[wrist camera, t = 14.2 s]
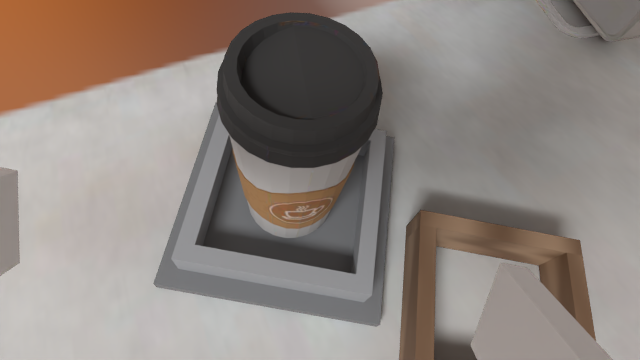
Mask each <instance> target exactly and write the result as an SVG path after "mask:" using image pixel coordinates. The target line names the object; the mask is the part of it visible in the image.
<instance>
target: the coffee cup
mask: <svg viewBox="0 0 640 360" xmlns="http://www.w3.org/2000/svg"><path fill="white" fill-rule="evenodd" d="M217 94H218V96H217V107H218V111H219V115H220V119H221V122H222V124H223V125H224V127H225V128H226V130H227V131H228V133H229V136H230V140H231V143H232V147H233V155H234V159H235V163H236V167H237V170H238V174H239V177H240V181H241V184H242V188H243V191H244V195H245V198H246V199H247V202H248V205H249V209H250V213H251V215H252V217H253V218H254V220H255V222H256V223H257V224H258V225H259V226H260V227H261V228H262V229H264V230H265V231H267V232H269V233H271V234H272V235H275V236H279V237H283V238H297V237H301V236H305V235H308V234H310V233H311V232H313V231H315V230H317V229H318V228H319V227H320V226H321V225H322V224H323V223H324V221H325V219H326V218H327V216H328V214H329V212H330V210H331V209H332V207H333V206H334V204H335V202H336V200H337V198H338V196H339V194H340V193H341V191H342V189H343V187H344V185H345V183H346V181H347V179H348V177H349V175H350V173H351V171H352V169H353V167H354V162H355V159H356V157H357V155H358V153H359V151H360V149H361V147H362V146H363V145H364V144H365V143H366V142H367V141H368V140H369V138H370V136H371V134H372V133H373V131H374V129H375V127H376V125H377V121H378V115H379V110H380V105H381V99H382V87H381V81H380V76H379V70H378V64H377V61H376V59H375V57H374V55H373V53H372V50H371V48H370V47H369V46H368V45H367V44H366V43H365V41H364V40H363V39H362V38H361V37H360V36H359V35H358V34H357V33H355V32H354V31H352V30H351V29H349V28H348V27H347V26H345V25H343V24H341V23H339V22H336V21H334V20H332V19H330V18H327V17H323V16H318V15H314V14H310V13H308V14H307V13H284V14H276V15H272V16H269V17H266V18H263V19H260V20H257V21H255V22H254V23H252V24H250V25H249V26H247V27H246V28H244V29H243V30H241V31H240V32H239V34H238V35H237V36H236V37H235V38H234V39H233V40H232V41H231V43H230V45H229V47H228V49H227V52H226V54H225V57H224V60H223V62H222V64H221V67H220V69H219V71H218V81H217Z"/></svg>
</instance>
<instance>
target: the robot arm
mask: <svg viewBox="0 0 640 360" xmlns="http://www.w3.org/2000/svg"><path fill="white" fill-rule="evenodd" d="M19 263H20V258H19V214H18V171H17V170H12V169H6V168H1V167H0V276H1V275H2V274H4V273H5V272H7V271H8V270H10V269H11V268H13V267H14V266H16V265H17V264H19ZM470 346H471V348H472V350H473V352H474V354H475V356H476V358H477V360H613V359H612V358H611V357H610V356H609V355H608V354H607V353H606V352H605V351H604V350H603V349H602V348H601V346H600V345H599V344H598V343H597V342H596V341H595V340H594V339H593V338H592V337H591V336H590V335H589V334H588V332H587V331H586V330H585V329H584V328H583V327H582V326H581V325H580V324H579V323H578V322H577V321H576V320H575V318H574V317H573V316H572V315H571V314H570V313H569V312H568V311H567V310H566V309H565V308H564V307H563V306H562V304H561V303H560V302H559V301H558V300H557V299H556V298H555V297H554V296H553V295H552V294H551V293H550V292H549V290H548V289H547V288H546V287H545V286H544V285H543V284H542V283H541V282H540V281H539V280H538V279H537V278H536V276H535V275H534V274H533V273H532V272H531V271H530V270H529V269H528V268H526V267H521V266H515V265H510V264H505V263H500V266H499V268H498V271H497V274H496V277H495V279H494V282H493V285H492V287H491V290H490V293H489V296H488V298H487V301H486V304H485V307H484V309H483V312H482V315H481V318H480V320H479V323H478V326H477V329H476V331H475V334H474V337H473V339H472V342H471V345H470Z"/></svg>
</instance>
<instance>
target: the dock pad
mask: <svg viewBox="0 0 640 360" xmlns="http://www.w3.org/2000/svg"><path fill="white" fill-rule="evenodd" d="M386 132H387V131H384V130H379V129H374V131H373V133H372V134H371V136H370V138H369V140H368V141H367V142H366V143H365V144H364V145H363V146H362V147H361V149H360V151H359V153H358V155H357V157H356V159H355V162H354V167H353V169H352V171H351V173H350V175H349V177H348V179H347V181H346V183H345V185H344V187H343V189H342V191H341V193H340V194H339V196H338V198H337V200H336V202H335V204H334V206H333V207H332V209H331V210H330V212H329V214H328V216H327V218H326V219H325V221H324V223H323V224H322V225H321V226H320V227H319V228H318V229H317V230H315V231H313V232H311V233H310V234H308V235H305V236H301V237H297V238H283V237H279V236H275V235H272V234H271V233H269V232H267V231H265V230H264V229H262V228H261V227H260V226H259V225H258V224H257V223H256V222H255V220H254V218H253V217H252V215H251V213H250V209H249V205H248V202H247V199H246V198H245V195H244V191H243V188H242V184H241V181H240V177H239V174H238V170H237V167H236V163H235V159H234V155H233V147H232V143H231V140H230V136H229V133H228V131H227V130H226V128H225V127H224V125H223V124H222V122H221V119H220V115H219V111H218V107H217V103H215V106H214V109H213V112H212V115H211V118H210V121H209V124H208V127H207V130H206V132H205V135H204V138H203V141H202V144H201V147H200V150H199V153H198V156H197V159H196V162H195V164H194V167H193V170H192V173H191V176H190V179H189V182H188V185H187V188H186V191H185V194H184V196H183V199H182V202H181V205H180V208H179V211H178V214H177V217H176V220H175V223H174V226H173V229H172V231H171V234H170V237H169V240H168V243H167V246H166V249H165V252H164V255H163V258H162V261H161V263H160V266H159V269H158V272H157V275H156V278H155V281H154V285H155V286H156V287H159V288H165V289H171V290H176V291H182V292H187V293H193V294H198V295H204V296H210V297H215V298H221V299H226V300H232V301H238V302H243V303H249V304H254V305H260V306H265V307H271V308H277V309H282V310H288V311H293V312H299V313H305V314H310V315H316V316H321V317H327V318H332V319H338V320H344V321H349V322H355V323H360V324H366V325H371V326H378V325H380V319H381V306H382V293H383V280H384V267H385V254H386V241H387V228H388V215H389V202H390V189H391V176H392V163H393V150H394V138H393V137H388V136H386Z"/></svg>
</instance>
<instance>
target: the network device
mask: <svg viewBox="0 0 640 360" xmlns="http://www.w3.org/2000/svg"><path fill="white" fill-rule="evenodd" d="M536 1H537V3H538V4H539V5H540V7H541V8H542V9H543V11H544V12H545V13H546V15H547V16H548V17H549V19H550V20H551V21H552V23H553V24H554V25H555V26H556V27H557V28H558V29H559V30H560V31H562V32H564V33H565V34H567V35H570V36H573V37H576V38H588V37H594V36H601V37H602V38H603V39H605V40H606V41H610V42H611V41H619V40H625V39H631V38H637V37H640V0H573V1H574V3H575V4H576V5H577V6H578V8H579V9H580V10H581V11H582V13H583V14H584V15H585V16H586V18H587V19H588V20H589V21H590V23H591V24H592V25H589V26H582V27H574V26H571V25H569V24H568V23H567V22H566V21H565V20H564V19H563V18H562V16H561V15H560V14H559V12H558V11H557V10H556V8H555V7H554V6H553V5H552V3H551V2H550V1H549V0H536Z"/></svg>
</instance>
